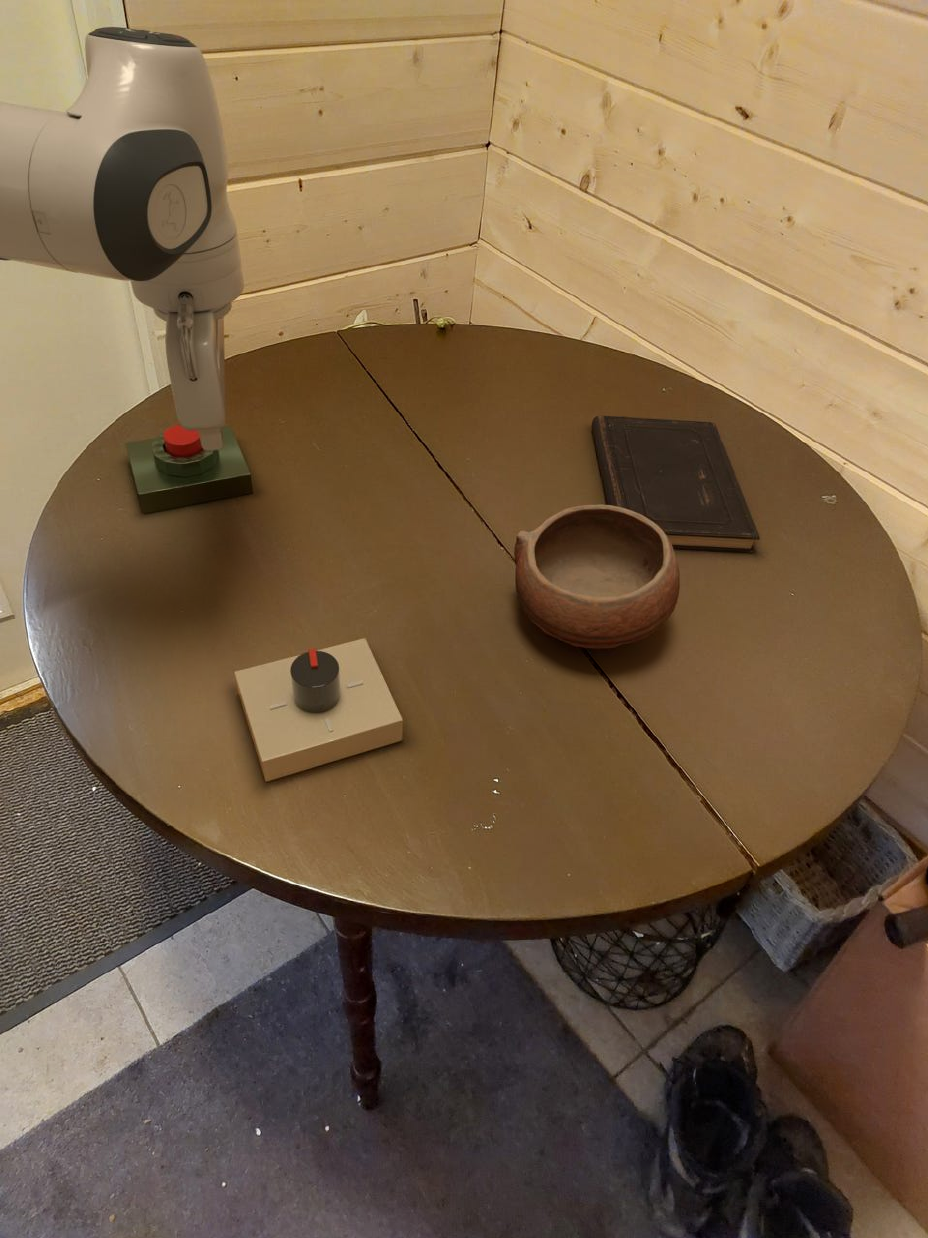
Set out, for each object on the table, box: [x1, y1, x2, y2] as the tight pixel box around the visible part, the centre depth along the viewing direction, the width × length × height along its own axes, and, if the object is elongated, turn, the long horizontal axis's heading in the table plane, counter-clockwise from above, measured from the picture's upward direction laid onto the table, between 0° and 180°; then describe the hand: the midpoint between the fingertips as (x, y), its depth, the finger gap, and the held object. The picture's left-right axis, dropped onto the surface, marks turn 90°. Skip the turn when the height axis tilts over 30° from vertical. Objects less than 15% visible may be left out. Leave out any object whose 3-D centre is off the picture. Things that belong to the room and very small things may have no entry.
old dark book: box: [591, 414, 761, 554], centre depth 100 cm, size 16×23×2 cm
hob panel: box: [234, 637, 404, 783], centre depth 72 cm, size 12×10×3 cm
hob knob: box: [290, 648, 341, 713], centre depth 70 cm, size 4×4×4 cm
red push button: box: [163, 424, 203, 457], centre depth 92 cm, size 4×4×2 cm
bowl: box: [513, 504, 681, 649], centre depth 81 cm, size 16×16×10 cm
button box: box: [125, 425, 254, 515], centre depth 94 cm, size 12×10×4 cm
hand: (213, 416), depth 77 cm, fingers open, 8 cm apart
